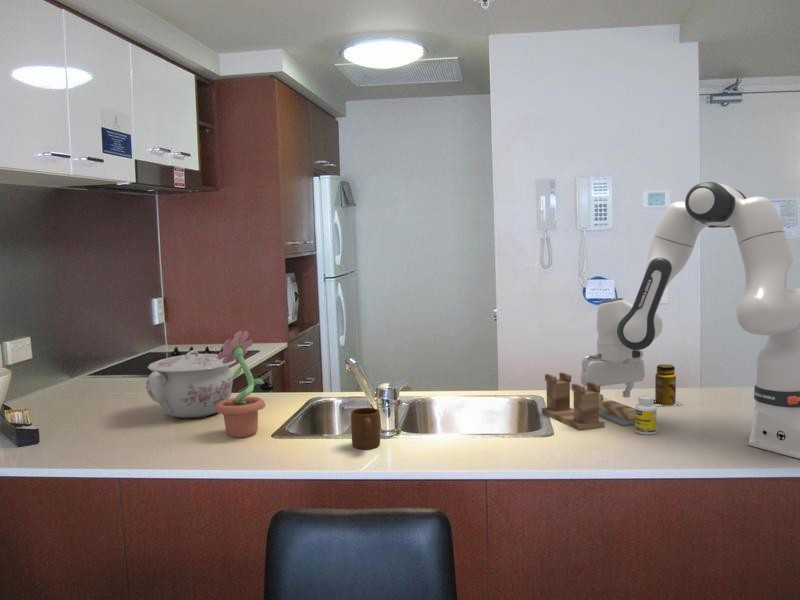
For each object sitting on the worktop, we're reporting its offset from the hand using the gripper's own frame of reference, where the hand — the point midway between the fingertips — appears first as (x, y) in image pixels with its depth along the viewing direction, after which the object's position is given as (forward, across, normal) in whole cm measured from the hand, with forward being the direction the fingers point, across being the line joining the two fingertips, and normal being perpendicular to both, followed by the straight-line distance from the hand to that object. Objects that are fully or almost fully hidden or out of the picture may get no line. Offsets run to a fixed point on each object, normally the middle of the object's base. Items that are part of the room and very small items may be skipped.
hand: (613, 398), depth 213 cm
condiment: (+5, +22, +5) cm, 23 cm away
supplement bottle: (+5, -3, -19) cm, 20 cm away
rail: (+3, 0, +1) cm, 3 cm away
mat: (+5, 0, +1) cm, 5 cm away
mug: (+5, -77, 0) cm, 77 cm away
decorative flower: (+4, -106, +28) cm, 109 cm away
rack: (+5, -14, +1) cm, 15 cm away
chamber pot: (+4, -117, +59) cm, 131 cm away
